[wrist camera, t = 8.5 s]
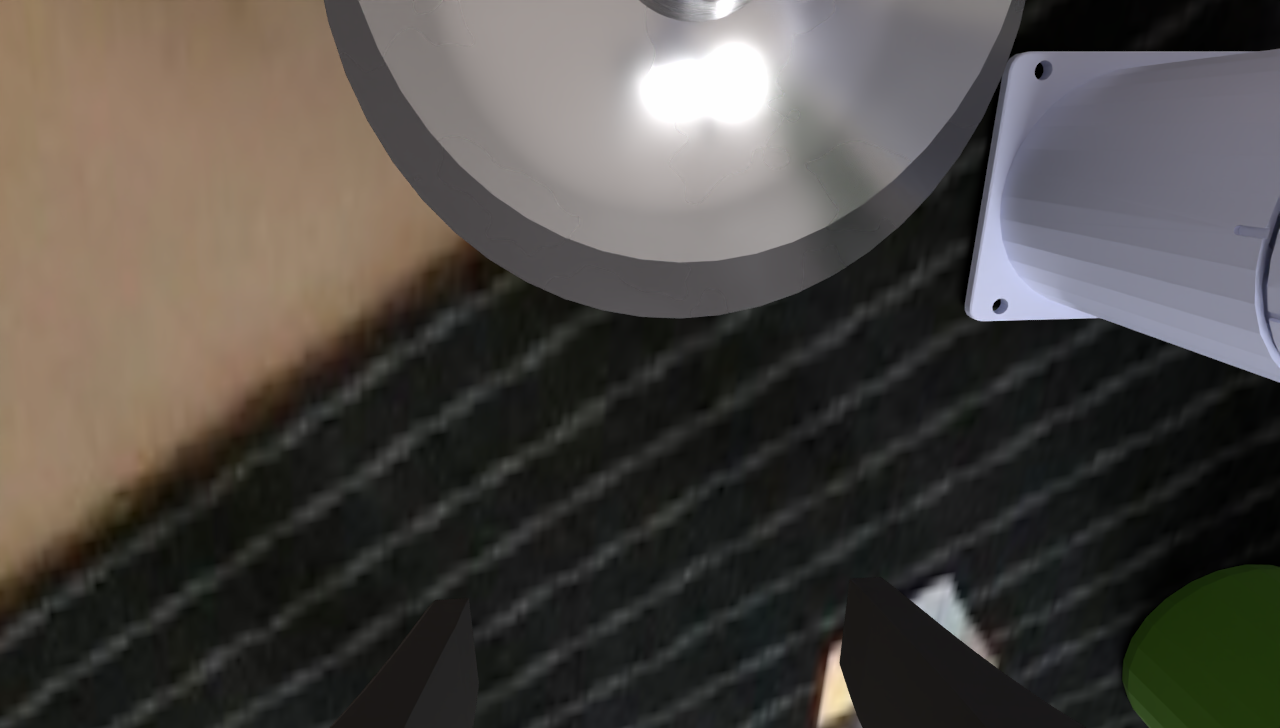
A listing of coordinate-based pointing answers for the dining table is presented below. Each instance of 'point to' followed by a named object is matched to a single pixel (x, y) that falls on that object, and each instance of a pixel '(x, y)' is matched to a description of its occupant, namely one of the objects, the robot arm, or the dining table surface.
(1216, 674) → the wine bottle
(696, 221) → the steel lid
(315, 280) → the dining table surface
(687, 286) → the cooking pot
